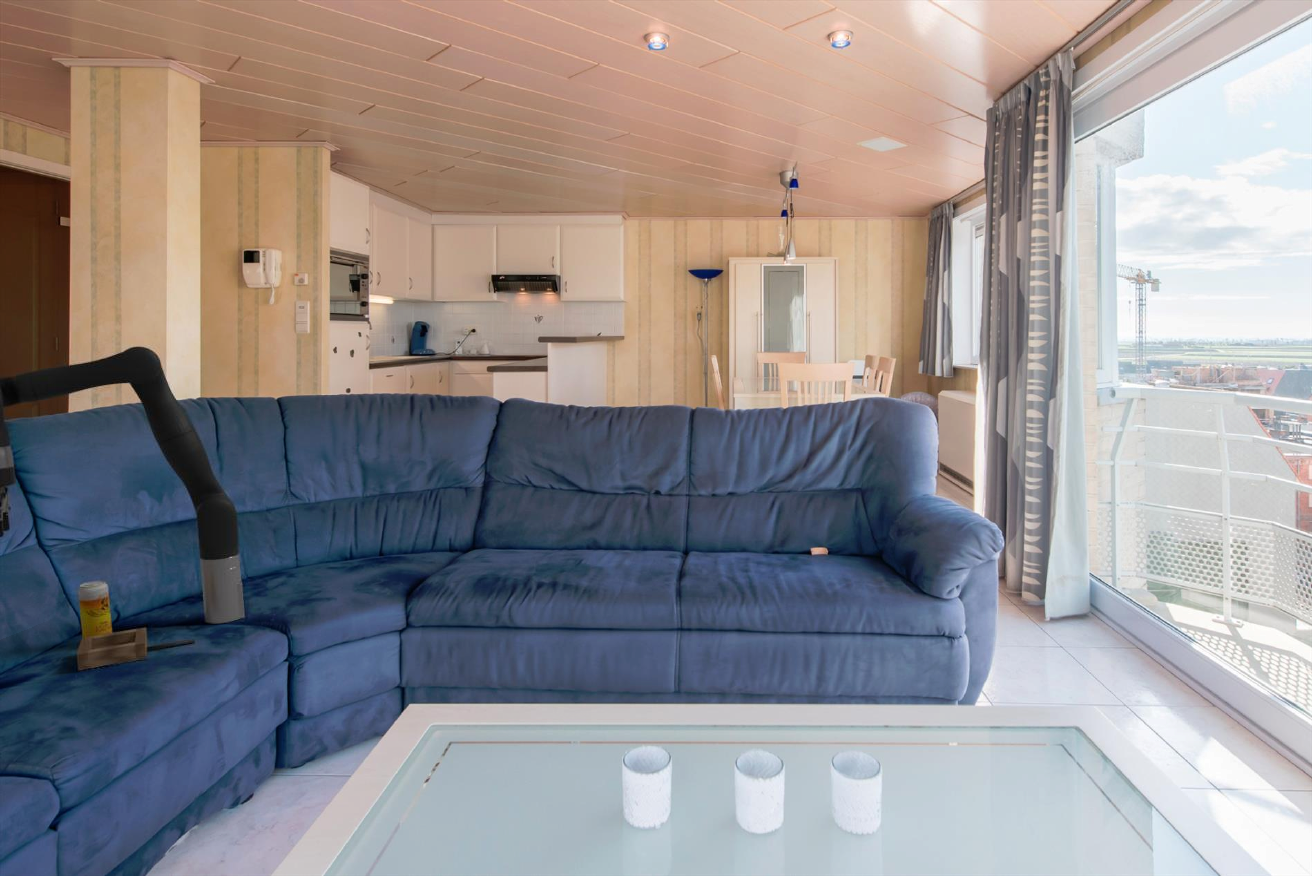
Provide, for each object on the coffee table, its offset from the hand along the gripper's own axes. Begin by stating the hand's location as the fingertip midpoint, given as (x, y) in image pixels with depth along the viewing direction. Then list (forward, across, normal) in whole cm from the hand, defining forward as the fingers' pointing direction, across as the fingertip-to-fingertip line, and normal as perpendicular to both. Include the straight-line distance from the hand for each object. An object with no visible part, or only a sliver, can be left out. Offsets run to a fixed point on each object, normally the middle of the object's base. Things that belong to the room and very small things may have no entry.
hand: (0, 533), depth 193 cm
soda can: (+30, -3, -17) cm, 34 cm away
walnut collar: (+29, -17, -26) cm, 43 cm away
